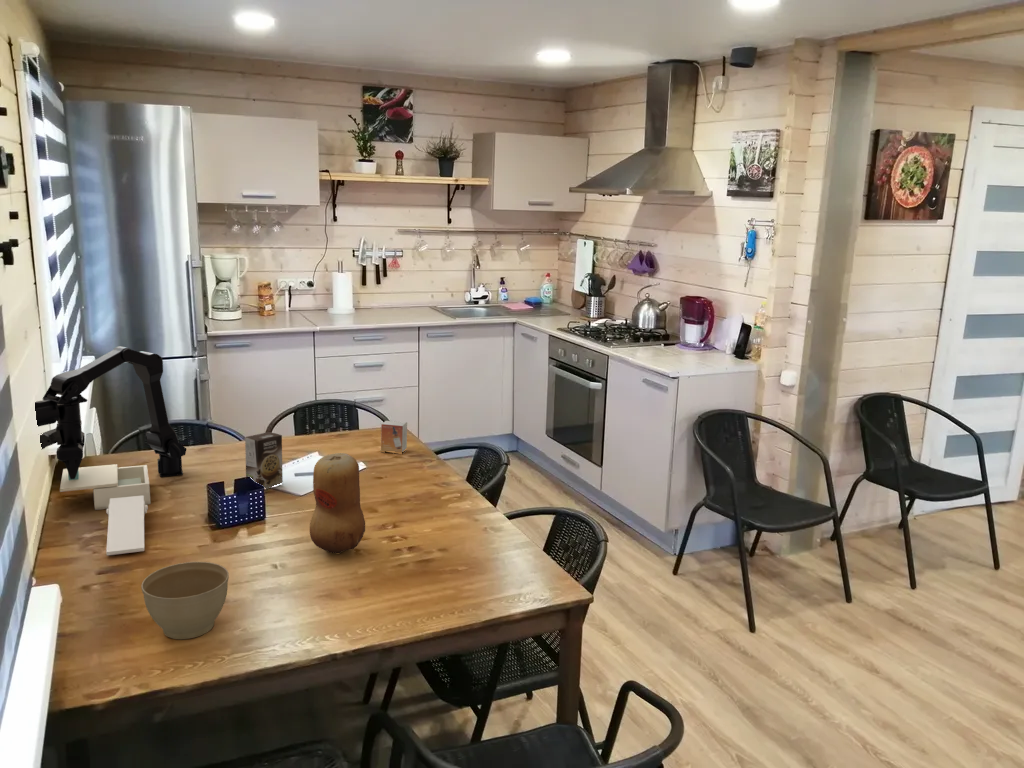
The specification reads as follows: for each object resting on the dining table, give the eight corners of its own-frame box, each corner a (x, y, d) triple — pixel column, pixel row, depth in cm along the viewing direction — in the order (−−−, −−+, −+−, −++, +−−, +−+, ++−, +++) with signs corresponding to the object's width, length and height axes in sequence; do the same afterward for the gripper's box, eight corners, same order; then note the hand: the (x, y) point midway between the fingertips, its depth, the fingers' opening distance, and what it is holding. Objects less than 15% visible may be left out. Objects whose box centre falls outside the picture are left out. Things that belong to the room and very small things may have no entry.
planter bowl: (181, 603, 172) (179, 556, 170) (246, 616, 167) (245, 568, 165) (126, 640, 157) (122, 589, 154) (196, 656, 152) (193, 603, 150)
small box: (380, 452, 282) (380, 423, 280) (385, 448, 288) (385, 420, 286) (402, 454, 281) (402, 425, 279) (407, 450, 287) (407, 421, 284)
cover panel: (117, 466, 238) (116, 447, 237) (117, 485, 222) (116, 465, 221) (63, 471, 232) (61, 452, 230) (60, 491, 216) (58, 471, 215)
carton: (147, 483, 243) (146, 464, 241) (150, 503, 227) (149, 483, 226) (95, 489, 236) (94, 469, 235) (94, 510, 221) (93, 489, 219)
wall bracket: (144, 574, 197) (144, 519, 221) (151, 548, 196) (150, 496, 220) (99, 571, 192) (104, 515, 216) (106, 544, 191) (110, 491, 215)
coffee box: (258, 492, 239) (256, 440, 235) (245, 487, 243) (243, 436, 239) (283, 485, 246) (282, 434, 243) (270, 480, 250) (269, 430, 246)
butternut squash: (298, 555, 197) (296, 458, 192) (329, 536, 210) (328, 444, 204) (346, 566, 192) (346, 467, 187) (375, 546, 205) (376, 452, 199)
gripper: (38, 414, 226) (42, 466, 229) (32, 431, 210) (37, 487, 213) (82, 411, 231) (86, 462, 234) (80, 427, 215) (84, 483, 218)
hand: (73, 473), depth 225 cm, fingers open, 9 cm apart
